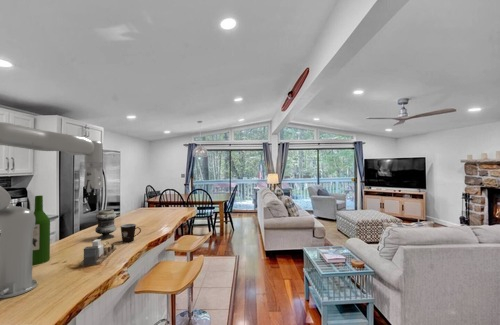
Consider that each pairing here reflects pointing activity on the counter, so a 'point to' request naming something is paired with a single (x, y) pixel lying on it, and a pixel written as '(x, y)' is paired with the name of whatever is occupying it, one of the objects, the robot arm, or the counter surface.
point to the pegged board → (96, 254)
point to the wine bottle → (41, 234)
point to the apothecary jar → (105, 224)
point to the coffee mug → (128, 232)
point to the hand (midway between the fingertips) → (93, 203)
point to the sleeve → (100, 247)
